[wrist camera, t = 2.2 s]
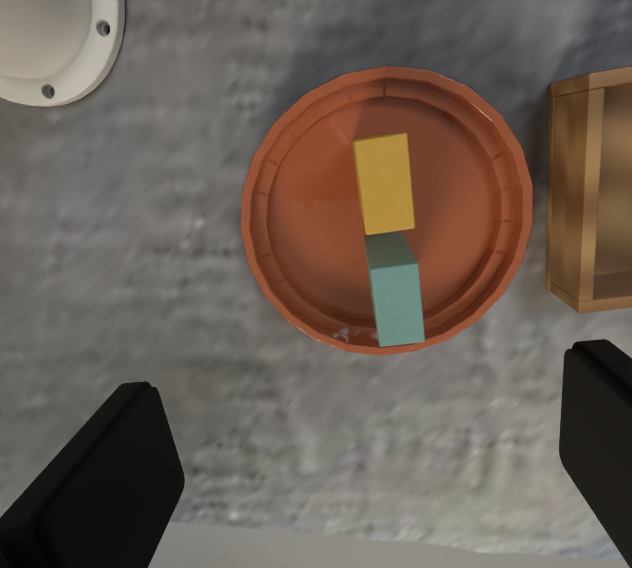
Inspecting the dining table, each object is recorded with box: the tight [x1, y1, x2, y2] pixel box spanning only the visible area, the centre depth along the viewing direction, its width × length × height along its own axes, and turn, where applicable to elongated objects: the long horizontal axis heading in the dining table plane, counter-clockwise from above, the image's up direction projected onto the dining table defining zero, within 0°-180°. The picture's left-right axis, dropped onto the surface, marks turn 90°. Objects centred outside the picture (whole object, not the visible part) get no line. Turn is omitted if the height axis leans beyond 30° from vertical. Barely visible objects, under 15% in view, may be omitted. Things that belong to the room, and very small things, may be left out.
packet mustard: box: [352, 132, 415, 235], centre depth 24 cm, size 5×2×8 cm, turn 9°
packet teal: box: [364, 231, 425, 347], centre depth 26 cm, size 5×2×8 cm, turn 9°
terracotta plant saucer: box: [241, 66, 533, 355], centre depth 28 cm, size 18×18×3 cm
